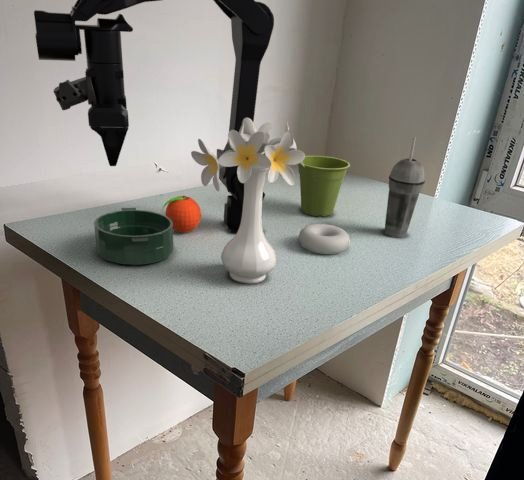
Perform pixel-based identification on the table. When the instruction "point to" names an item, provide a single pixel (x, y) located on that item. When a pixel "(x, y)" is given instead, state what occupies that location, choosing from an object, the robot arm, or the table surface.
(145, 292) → the table surface
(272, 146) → the flower vase
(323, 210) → the plant pot
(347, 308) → the table surface
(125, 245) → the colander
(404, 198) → the beverage cup
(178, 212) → the clementine
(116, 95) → the robot arm
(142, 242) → the colander handles
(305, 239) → the donut
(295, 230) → the table surface
